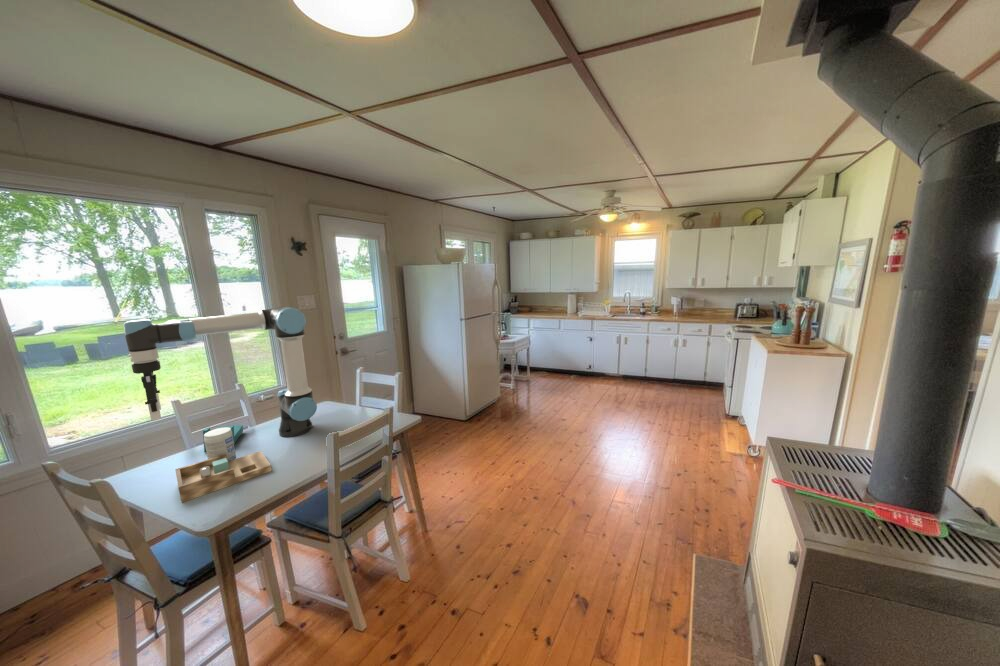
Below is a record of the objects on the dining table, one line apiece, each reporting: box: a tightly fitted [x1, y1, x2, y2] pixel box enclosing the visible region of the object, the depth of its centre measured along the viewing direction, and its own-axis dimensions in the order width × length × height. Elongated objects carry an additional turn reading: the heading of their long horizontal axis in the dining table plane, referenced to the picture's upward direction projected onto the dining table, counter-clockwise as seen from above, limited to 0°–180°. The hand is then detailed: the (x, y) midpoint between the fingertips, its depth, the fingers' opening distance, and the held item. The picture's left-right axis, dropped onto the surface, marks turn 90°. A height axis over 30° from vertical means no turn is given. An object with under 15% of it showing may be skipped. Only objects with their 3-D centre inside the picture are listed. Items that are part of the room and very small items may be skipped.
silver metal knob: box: [200, 466, 211, 478], centre depth 135 cm, size 3×3×6 cm
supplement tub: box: [203, 426, 237, 461], centre depth 153 cm, size 10×10×15 cm
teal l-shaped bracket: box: [202, 424, 244, 453], centre depth 175 cm, size 18×11×10 cm, turn 22°
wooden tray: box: [175, 450, 272, 504], centre depth 143 cm, size 28×18×6 cm, turn 135°
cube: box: [212, 458, 229, 474], centre depth 142 cm, size 4×4×4 cm
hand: (156, 414), depth 138 cm, fingers open, 13 cm apart
